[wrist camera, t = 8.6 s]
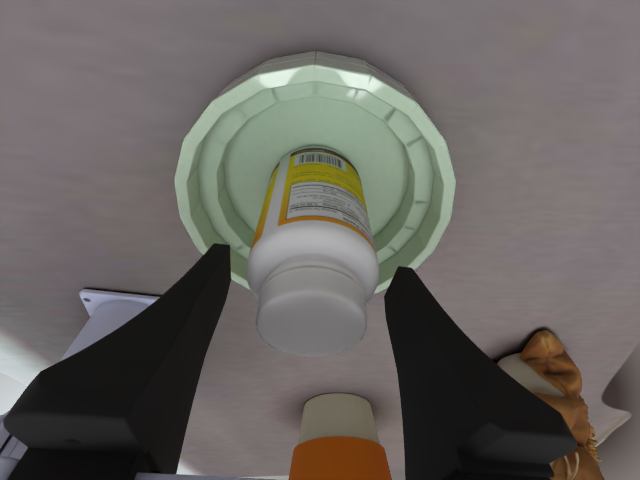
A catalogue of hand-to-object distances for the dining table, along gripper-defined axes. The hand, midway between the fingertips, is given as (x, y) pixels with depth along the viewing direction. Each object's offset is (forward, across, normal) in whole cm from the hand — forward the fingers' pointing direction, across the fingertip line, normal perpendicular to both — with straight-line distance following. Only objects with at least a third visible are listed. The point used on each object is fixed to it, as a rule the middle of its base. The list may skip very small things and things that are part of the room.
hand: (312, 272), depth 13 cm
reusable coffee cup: (+8, -8, +33) cm, 35 cm away
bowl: (+8, 0, 0) cm, 8 cm away
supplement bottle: (+8, 0, 0) cm, 8 cm away
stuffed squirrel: (+8, -26, +19) cm, 33 cm away
